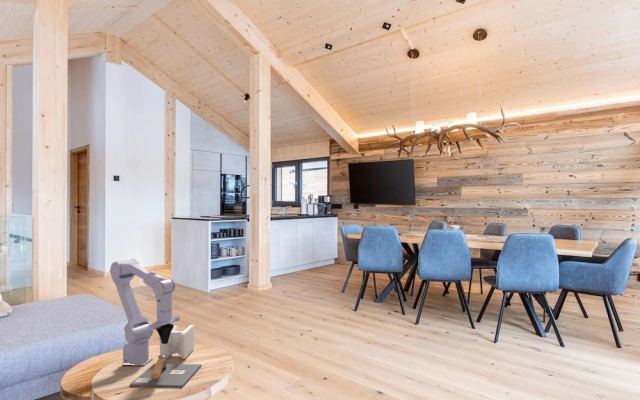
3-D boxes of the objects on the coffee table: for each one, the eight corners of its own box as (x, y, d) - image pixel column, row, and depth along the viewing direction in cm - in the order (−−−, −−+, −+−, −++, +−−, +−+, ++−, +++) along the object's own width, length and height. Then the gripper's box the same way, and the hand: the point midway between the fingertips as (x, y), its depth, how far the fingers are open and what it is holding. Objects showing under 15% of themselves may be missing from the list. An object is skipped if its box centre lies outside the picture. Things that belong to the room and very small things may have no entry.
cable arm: (159, 367, 153) (159, 354, 153) (167, 367, 153) (167, 354, 153) (150, 386, 136) (150, 372, 137) (159, 385, 137) (159, 371, 137)
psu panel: (129, 386, 139) (129, 383, 139) (154, 365, 157) (154, 363, 157) (182, 387, 138) (182, 384, 138) (201, 366, 156) (201, 363, 156)
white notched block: (183, 362, 160) (183, 334, 160) (158, 362, 160) (158, 335, 160) (195, 348, 175) (194, 323, 175) (172, 349, 175) (172, 324, 175)
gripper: (157, 315, 145) (158, 351, 145) (185, 306, 159) (185, 338, 159) (144, 313, 148) (144, 348, 148) (172, 304, 162) (172, 336, 161)
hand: (164, 343), depth 154 cm, fingers closed
